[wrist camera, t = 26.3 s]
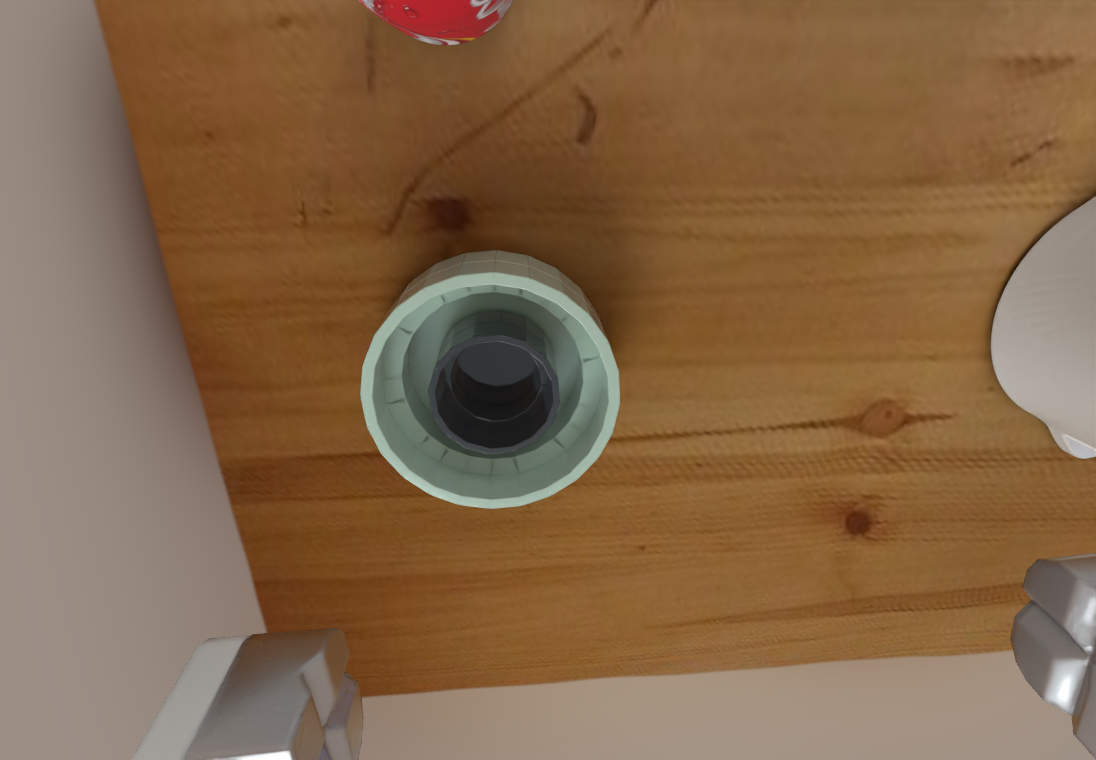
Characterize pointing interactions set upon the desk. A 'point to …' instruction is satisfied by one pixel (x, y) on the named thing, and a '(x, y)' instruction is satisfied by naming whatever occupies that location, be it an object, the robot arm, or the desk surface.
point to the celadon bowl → (410, 356)
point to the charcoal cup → (495, 383)
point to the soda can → (440, 18)
